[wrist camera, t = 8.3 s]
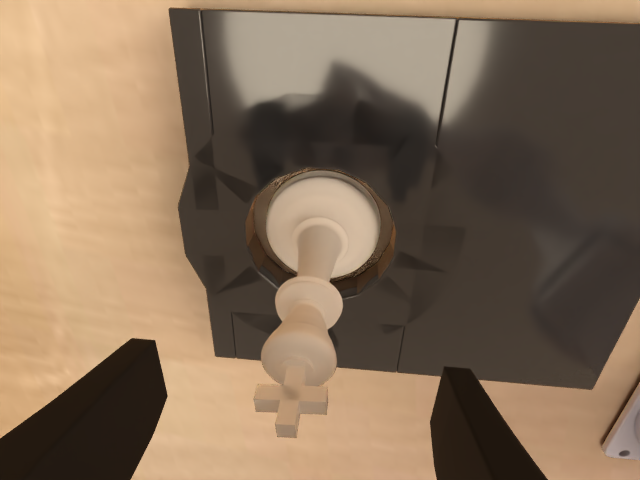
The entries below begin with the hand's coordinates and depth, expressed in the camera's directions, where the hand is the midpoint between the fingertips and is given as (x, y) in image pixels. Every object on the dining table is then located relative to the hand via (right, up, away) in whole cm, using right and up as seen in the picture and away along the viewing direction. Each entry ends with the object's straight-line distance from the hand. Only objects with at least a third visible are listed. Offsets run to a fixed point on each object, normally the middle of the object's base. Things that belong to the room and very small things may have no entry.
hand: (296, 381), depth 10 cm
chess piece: (+1, +4, +8) cm, 9 cm away
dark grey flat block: (+5, +4, +7) cm, 9 cm away
